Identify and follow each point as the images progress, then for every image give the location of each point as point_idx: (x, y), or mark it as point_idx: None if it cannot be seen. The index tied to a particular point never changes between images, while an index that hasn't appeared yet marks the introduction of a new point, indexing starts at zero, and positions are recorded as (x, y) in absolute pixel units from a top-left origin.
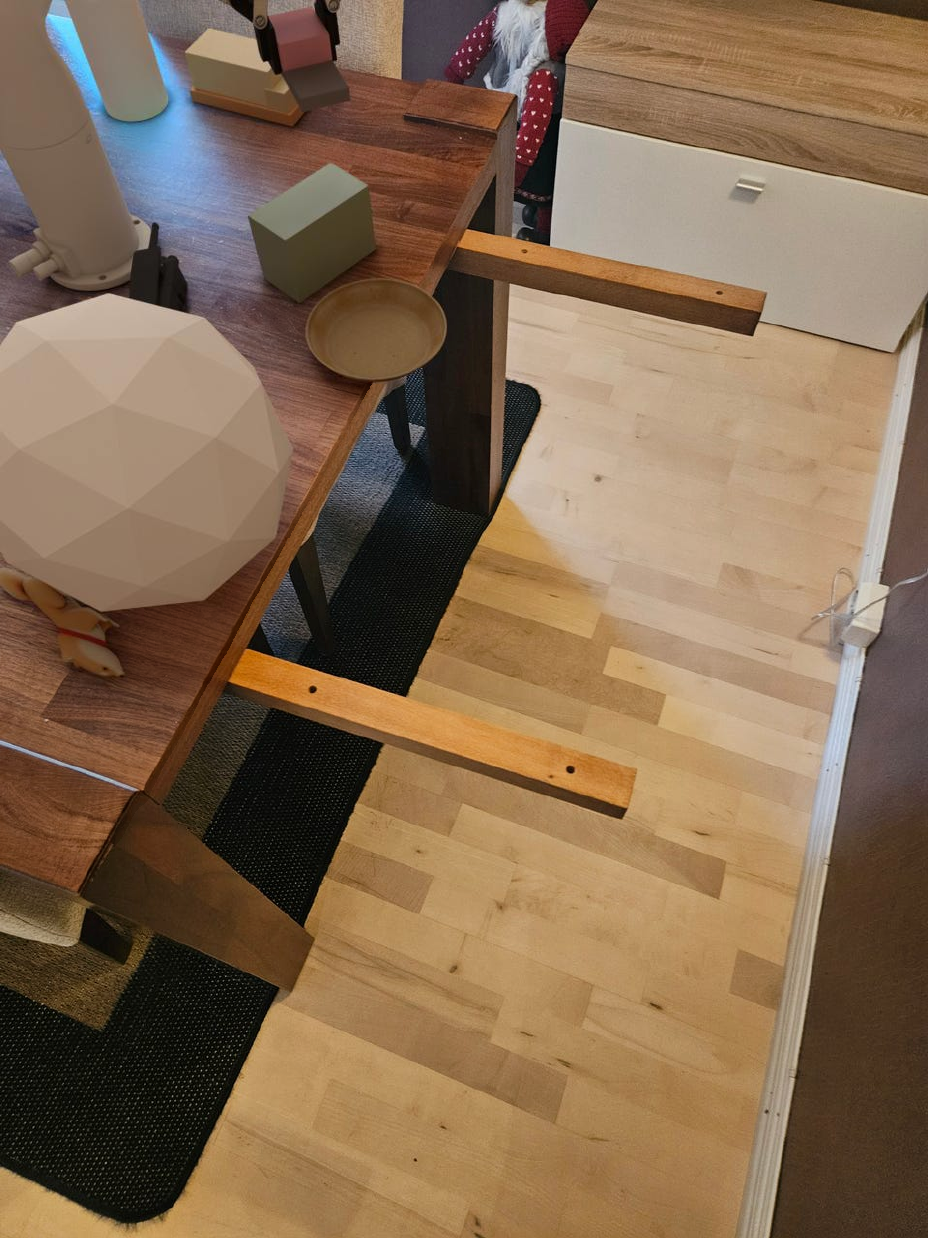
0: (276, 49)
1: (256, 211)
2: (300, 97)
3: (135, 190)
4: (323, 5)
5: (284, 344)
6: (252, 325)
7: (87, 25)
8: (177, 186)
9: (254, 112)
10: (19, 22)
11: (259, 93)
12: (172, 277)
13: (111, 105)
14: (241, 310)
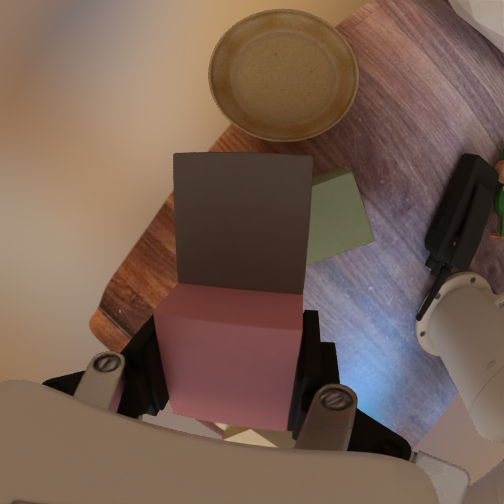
0: (305, 339)
1: (362, 242)
2: (309, 161)
3: (396, 372)
4: (134, 377)
5: (371, 120)
6: (390, 161)
7: None
8: (367, 366)
9: None
10: None
11: None
12: (448, 228)
13: None
14: (392, 186)
